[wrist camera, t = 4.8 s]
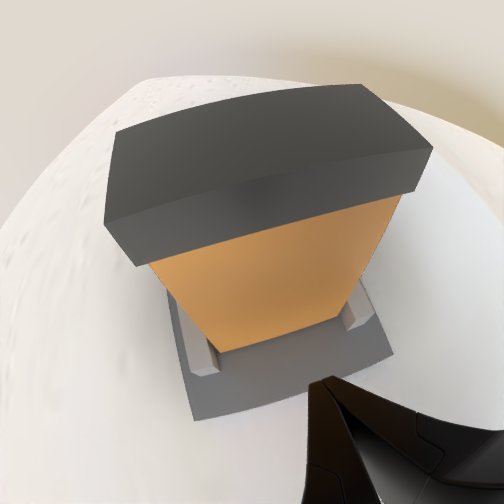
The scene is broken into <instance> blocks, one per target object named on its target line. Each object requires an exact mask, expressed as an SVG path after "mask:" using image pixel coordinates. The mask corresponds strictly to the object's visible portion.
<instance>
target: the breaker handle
mask: <svg viewBox="0 0 504 504" xmlns="http://www.w3.org/2000/svg"><path fill="white" fill-rule="evenodd" d="M432 150H433V146H432V145H431V144H430V143H429V142H428V141H427V140H426V139H425V138H424V137H423V136H422V135H421V134H420V133H419V132H418V131H417V130H416V129H414V128H413V127H412V126H411V125H410V124H409V123H408V122H407V121H406V120H405V119H404V118H402V117H401V116H400V115H399V114H398V113H397V112H396V111H394V110H393V109H392V108H391V107H390V106H388V105H387V104H386V103H385V102H384V101H382V100H381V99H380V98H379V97H377V96H376V95H375V94H374V93H372V92H371V91H369V90H368V89H367V88H366V87H364V86H363V85H362V84H348V85H347V84H346V85H327V86H314V87H303V88H294V89H285V90H278V91H271V92H264V93H258V94H252V95H246V96H241V97H236V98H231V99H226V100H221V101H217V102H213V103H208V104H204V105H200V106H196V107H192V108H189V109H185V110H181V111H178V112H174V113H171V114H167V115H164V116H161V117H158V118H155V119H152V120H148V121H145V122H143V123H140V124H137V125H134V126H131V127H128V128H126V129H123V130H120V131H118V132H116V135H115V140H114V146H113V151H112V157H111V164H110V170H109V177H108V185H107V194H106V203H105V214H104V226H105V227H106V228H107V230H108V231H109V232H110V234H111V235H112V236H113V238H114V239H115V240H116V242H117V243H118V244H119V246H120V247H121V248H122V250H123V251H124V252H125V253H126V255H127V256H128V257H129V258H130V260H131V261H132V262H133V263H134V265H135V266H136V267H138V266H141V265H144V264H149V266H150V267H151V268H152V270H153V271H154V272H155V274H156V275H157V276H158V278H159V279H160V280H161V282H162V283H163V284H164V286H165V287H166V288H167V289H168V291H169V292H170V293H171V295H172V296H173V297H174V298H175V300H176V301H177V302H178V303H179V305H180V306H181V307H182V308H183V310H184V311H185V312H186V313H187V315H188V316H189V317H190V318H191V319H192V321H193V322H194V323H195V324H196V325H197V327H198V328H199V329H200V330H201V331H202V333H203V334H204V335H205V336H206V337H207V338H208V340H209V341H210V342H211V343H212V344H213V345H214V346H215V348H216V349H217V350H218V351H219V352H220V353H223V352H226V351H230V350H234V349H237V348H241V347H244V346H248V345H251V344H255V343H258V342H262V341H265V340H268V339H271V338H275V337H278V336H281V335H284V334H287V333H290V332H293V331H296V330H299V329H302V328H305V327H308V326H311V325H314V324H317V323H320V322H323V321H325V320H328V319H331V318H334V317H336V316H338V314H339V312H340V311H341V309H342V308H343V306H344V304H345V303H346V301H347V299H348V298H349V296H350V294H351V293H352V291H353V289H354V287H355V286H356V284H357V282H358V281H359V279H360V277H361V275H362V273H363V272H364V270H365V268H366V266H367V264H368V263H369V261H370V259H371V257H372V255H373V253H374V251H375V249H376V248H377V246H378V244H379V242H380V240H381V238H382V236H383V234H384V232H385V230H386V228H387V226H388V224H389V222H390V220H391V218H392V215H393V213H394V211H395V209H396V207H397V205H398V203H399V200H400V198H401V196H402V194H406V193H410V192H414V191H415V188H416V186H417V184H418V182H419V180H420V178H421V175H422V173H423V171H424V169H425V166H426V164H427V162H428V159H429V157H430V154H431V152H432Z"/></svg>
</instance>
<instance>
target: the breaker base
mask: <svg viewBox="0 0 504 504" xmlns="http://www.w3.org/2000/svg"><path fill="white" fill-rule="evenodd" d="M166 289H167V288H166ZM167 296H168V302H169V308H170V314H171V320H172V325H173V331H174V336H175V341H176V346H177V351H178V356H179V361H180V365H181V370H182V374H183V379H184V383H185V387H186V391H187V395H188V399H189V403H190V407H191V411H192V415H193V419H194V421H200V420H205V419H210V418H215V417H219V416H224V415H228V414H232V413H236V412H241V411H244V410H248V409H252V408H256V407H259V406H263V405H266V404H270V403H273V402H277V401H280V400H283V399H286V398H289V397H292V396H295V395H298V394H301V393H304V392H307V391H308V385H309V384H310V383H312V382H315V381H318V380H320V381H321V380H322V379H323V378H326V377H328V376H331V375H334V376H336V377H338V378H340V379H341V378H344V377H346V376H348V375H351V374H353V373H355V372H358V371H360V370H362V369H364V368H367V367H369V366H371V365H373V364H375V363H377V362H380V361H382V360H384V359H386V358H388V357H390V356H391V355H393V352H392V349H391V347H390V344H389V342H388V340H387V337H386V335H385V333H384V330H383V328H382V326H381V324H380V321H379V319H378V317H377V315H376V313H375V310H374V308H373V306H372V304H371V302H370V300H369V298H368V295H367V293H366V291H365V289H364V287H363V285H362V283H361V281H360V279H359V281H358V282H357V284H356V286H355V287H354V289H353V291H352V293H351V294H350V296H349V298H348V299H347V301H346V303H345V304H344V306H343V308H342V309H341V311H340V312H339V314H338V316H336V317H334V318H331V319H328V320H325V321H323V322H320V323H317V324H314V325H311V326H308V327H305V328H302V329H299V330H296V331H293V332H290V333H287V334H284V335H281V336H278V337H275V338H271V339H268V340H265V341H262V342H258V343H255V344H251V345H248V346H244V347H241V348H237V349H234V350H230V351H226V352H223V353H220V352H219V351H218V350H217V349H216V348H215V346H214V345H213V344H212V343H211V342H210V341H209V340H208V338H207V337H206V336H205V335H204V334H203V333H202V331H201V330H200V329H199V328H198V327H197V325H196V324H195V323H194V322H193V321H192V319H191V318H190V317H189V316H188V315H187V313H186V312H185V311H184V310H183V308H182V307H181V306H180V305H179V303H178V302H177V301H176V300H175V298H174V297H173V296H172V295H171V293H170V292H169V291H168V289H167Z"/></svg>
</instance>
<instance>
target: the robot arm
mask: <svg viewBox="0 0 504 504" xmlns="http://www.w3.org/2000/svg"><path fill="white" fill-rule="evenodd" d="M376 492H377V493H378V495H379V496H380V498H381V499H382V501H383V502H384V504H504V430H486V429H480V428H474V427H469V426H464V425H459V424H454V423H450V422H446V421H442V420H439V419H436V418H433V417H430V416H427V415H424V414H422V413H419V412H417V413H416V411H414V410H411V409H409V408H406V407H404V406H401V405H399V404H397V403H394V402H392V401H389V400H387V399H385V398H382V397H380V396H378V395H376V394H373V393H371V392H369V391H366V390H364V389H362V388H360V387H358V386H355V385H353V384H351V383H349V382H347V381H345V380H343V379H340V378H338V377H336V376H334V375H331V376H328V377H326V378H323V379H322V380H321V381H320V380H318V381H315V382H312V383H310V384H309V385H308V440H307V464H306V479H305V488H304V493H303V498H302V502H301V504H381V502H380V500H379V497H378V495H377V493H376Z"/></svg>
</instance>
